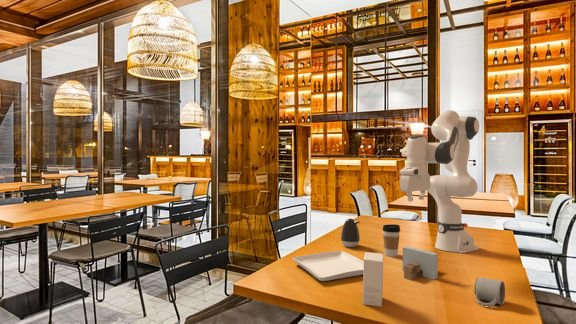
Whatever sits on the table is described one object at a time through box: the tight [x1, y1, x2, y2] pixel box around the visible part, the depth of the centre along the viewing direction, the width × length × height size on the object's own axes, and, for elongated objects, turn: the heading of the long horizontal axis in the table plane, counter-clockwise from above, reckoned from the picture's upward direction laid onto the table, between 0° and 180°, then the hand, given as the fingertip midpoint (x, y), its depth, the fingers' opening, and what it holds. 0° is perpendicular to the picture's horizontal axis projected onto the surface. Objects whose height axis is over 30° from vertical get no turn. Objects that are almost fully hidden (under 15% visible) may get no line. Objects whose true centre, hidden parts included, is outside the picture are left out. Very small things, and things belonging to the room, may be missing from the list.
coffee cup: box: [382, 224, 401, 258], centre depth 166 cm, size 8×8×15 cm
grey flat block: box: [402, 245, 439, 280], centre depth 140 cm, size 14×3×10 cm, turn 39°
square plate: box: [292, 250, 364, 282], centre depth 146 cm, size 27×27×4 cm
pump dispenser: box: [340, 218, 361, 248], centre depth 183 cm, size 10×10×15 cm
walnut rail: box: [403, 262, 423, 281], centre depth 140 cm, size 18×3×5 cm, turn 129°
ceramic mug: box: [473, 277, 506, 308], centre depth 114 cm, size 11×8×8 cm
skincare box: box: [362, 251, 384, 308], centre depth 114 cm, size 8×7×16 cm
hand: (415, 200), depth 154 cm, fingers open, 8 cm apart
